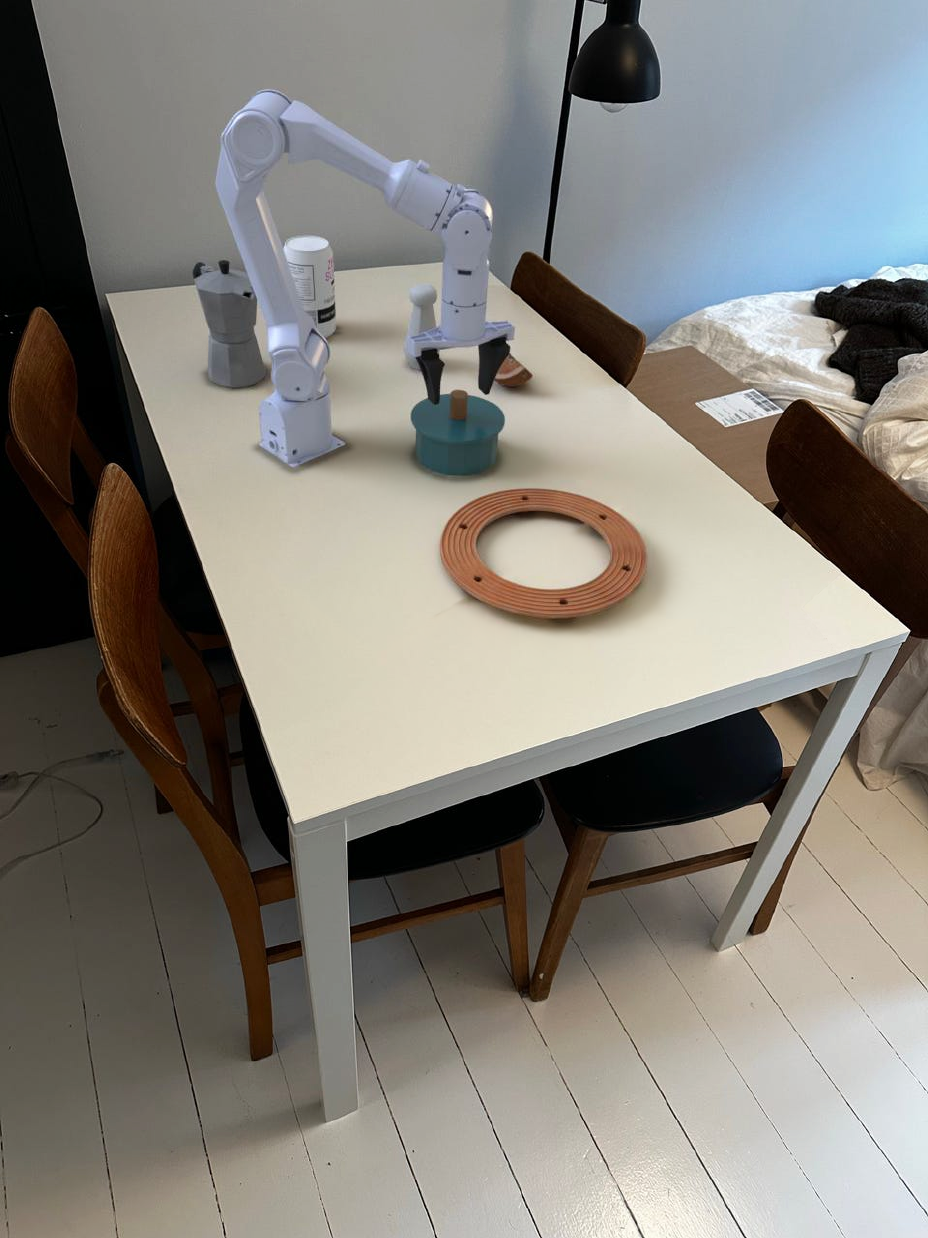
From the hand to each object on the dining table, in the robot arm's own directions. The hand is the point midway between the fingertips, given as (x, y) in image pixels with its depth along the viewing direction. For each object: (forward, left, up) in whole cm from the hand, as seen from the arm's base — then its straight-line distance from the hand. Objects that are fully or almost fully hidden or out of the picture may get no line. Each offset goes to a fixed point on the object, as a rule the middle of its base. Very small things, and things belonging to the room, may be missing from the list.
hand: (458, 396), depth 126 cm
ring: (-9, -24, -10) cm, 27 cm away
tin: (0, 0, -10) cm, 10 cm away
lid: (0, 0, -3) cm, 3 cm away
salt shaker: (+16, +24, -10) cm, 30 cm away
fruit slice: (+22, +10, -10) cm, 26 cm away
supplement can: (+10, +45, -10) cm, 47 cm away
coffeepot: (-9, +41, -10) cm, 43 cm away
